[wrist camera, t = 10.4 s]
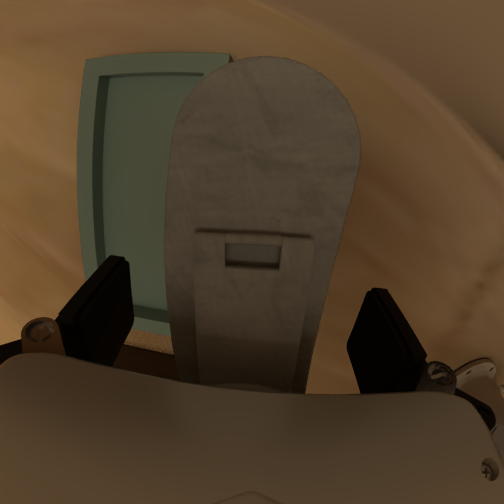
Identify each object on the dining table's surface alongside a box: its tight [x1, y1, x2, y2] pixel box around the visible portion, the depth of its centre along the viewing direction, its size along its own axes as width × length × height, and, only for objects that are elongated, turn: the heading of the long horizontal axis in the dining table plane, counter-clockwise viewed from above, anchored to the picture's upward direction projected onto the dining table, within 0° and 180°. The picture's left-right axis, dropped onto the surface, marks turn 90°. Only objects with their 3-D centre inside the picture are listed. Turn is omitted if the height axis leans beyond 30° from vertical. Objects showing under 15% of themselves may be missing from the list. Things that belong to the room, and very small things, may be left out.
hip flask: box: [164, 56, 361, 394], centre depth 14 cm, size 16×4×20 cm, turn 2°
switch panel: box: [112, 344, 180, 381], centre depth 30 cm, size 18×9×4 cm, turn 83°
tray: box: [77, 52, 233, 336], centre depth 22 cm, size 11×23×2 cm, turn 173°
